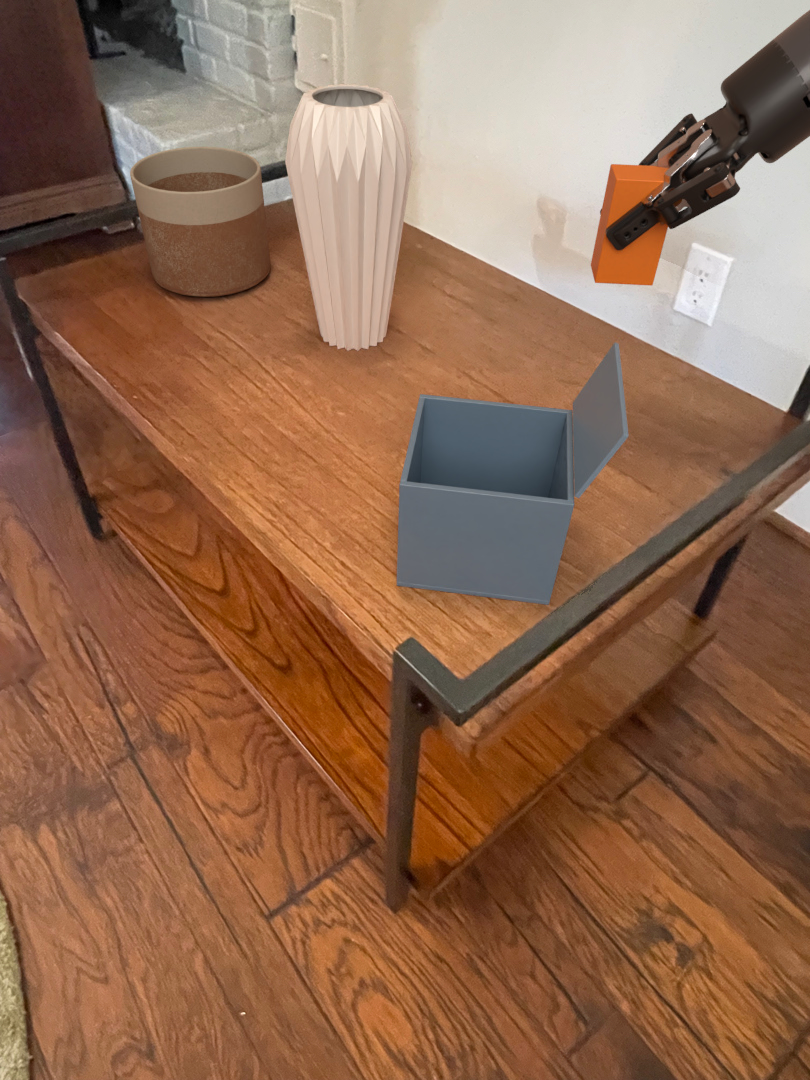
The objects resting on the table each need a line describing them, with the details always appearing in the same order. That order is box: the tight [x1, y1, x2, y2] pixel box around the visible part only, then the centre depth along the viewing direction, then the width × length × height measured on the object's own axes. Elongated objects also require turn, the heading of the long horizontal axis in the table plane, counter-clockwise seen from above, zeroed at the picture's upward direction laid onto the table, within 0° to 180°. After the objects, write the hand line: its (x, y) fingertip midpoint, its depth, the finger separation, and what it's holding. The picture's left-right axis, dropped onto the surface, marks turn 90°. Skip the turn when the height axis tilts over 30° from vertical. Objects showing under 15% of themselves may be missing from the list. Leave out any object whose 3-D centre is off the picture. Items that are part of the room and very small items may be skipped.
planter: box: [129, 146, 271, 298], centre depth 98 cm, size 16×16×14 cm
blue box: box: [395, 393, 575, 606], centre depth 64 cm, size 13×12×12 cm
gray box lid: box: [572, 342, 629, 499], centre depth 57 cm, size 6×12×1 cm
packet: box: [590, 163, 673, 287], centre depth 66 cm, size 5×4×9 cm
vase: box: [284, 83, 413, 352], centre depth 84 cm, size 13×13×26 cm
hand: (608, 231), depth 66 cm, fingers closed on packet, 3 cm apart
